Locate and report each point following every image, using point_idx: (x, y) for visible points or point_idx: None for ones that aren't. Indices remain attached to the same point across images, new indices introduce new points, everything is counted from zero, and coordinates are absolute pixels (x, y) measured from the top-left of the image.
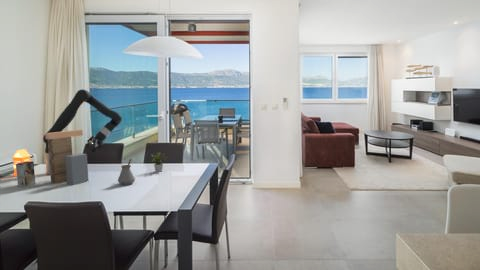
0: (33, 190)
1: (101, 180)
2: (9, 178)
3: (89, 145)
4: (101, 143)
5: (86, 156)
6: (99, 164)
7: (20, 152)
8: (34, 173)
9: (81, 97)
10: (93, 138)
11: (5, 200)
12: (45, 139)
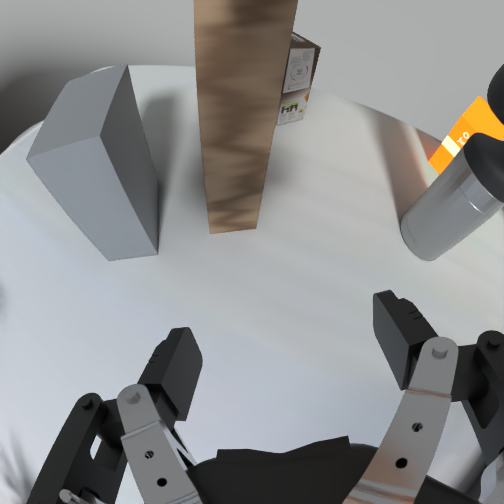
0: (183, 101)
1: (69, 310)
2: (411, 132)
3: (396, 375)
4: (42, 483)
5: (36, 168)
6: (456, 469)
7: (482, 110)
8: (282, 92)
9: None
10: (472, 502)
11: (157, 66)
12: (495, 74)
